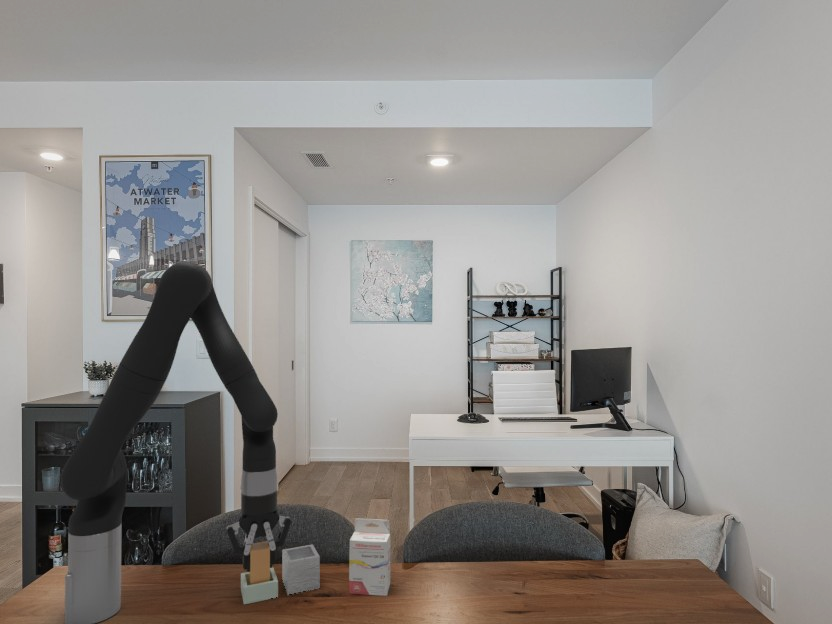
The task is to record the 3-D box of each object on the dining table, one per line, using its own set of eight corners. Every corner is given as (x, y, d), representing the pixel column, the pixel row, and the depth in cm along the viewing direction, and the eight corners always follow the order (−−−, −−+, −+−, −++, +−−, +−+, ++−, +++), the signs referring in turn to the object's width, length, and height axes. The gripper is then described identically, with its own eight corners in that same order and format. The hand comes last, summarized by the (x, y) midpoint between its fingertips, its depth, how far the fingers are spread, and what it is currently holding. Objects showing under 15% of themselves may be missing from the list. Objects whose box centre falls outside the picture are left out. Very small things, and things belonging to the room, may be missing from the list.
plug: (250, 589, 110) (250, 551, 110) (248, 581, 114) (248, 544, 114) (269, 585, 112) (269, 548, 112) (267, 577, 115) (267, 541, 116)
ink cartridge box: (348, 594, 112) (348, 525, 112) (353, 583, 117) (353, 517, 117) (387, 596, 111) (387, 527, 111) (391, 585, 116) (390, 518, 116)
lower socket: (243, 604, 108) (243, 588, 108) (240, 589, 115) (240, 573, 115) (278, 597, 111) (278, 581, 111) (273, 582, 117) (273, 567, 117)
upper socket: (287, 595, 112) (287, 562, 112) (282, 580, 118) (282, 549, 118) (319, 588, 115) (319, 556, 115) (312, 574, 121) (312, 544, 121)
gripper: (225, 498, 107) (225, 583, 107) (295, 489, 113) (295, 569, 112) (223, 488, 114) (223, 567, 113) (289, 480, 120) (289, 555, 119)
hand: (259, 568), depth 113 cm, fingers closed on plug, 4 cm apart
